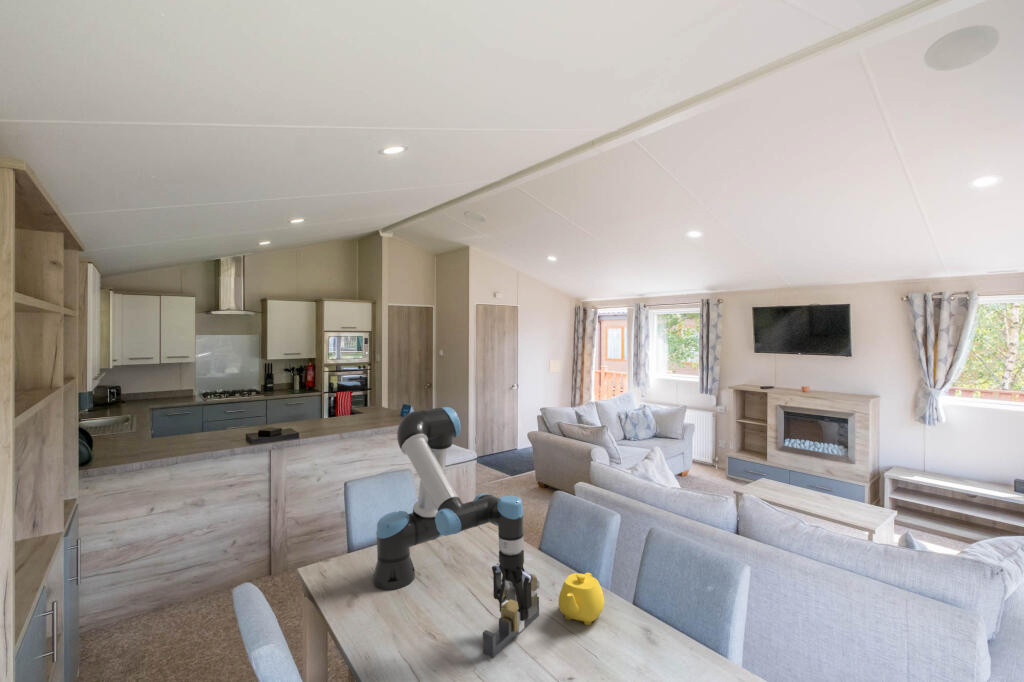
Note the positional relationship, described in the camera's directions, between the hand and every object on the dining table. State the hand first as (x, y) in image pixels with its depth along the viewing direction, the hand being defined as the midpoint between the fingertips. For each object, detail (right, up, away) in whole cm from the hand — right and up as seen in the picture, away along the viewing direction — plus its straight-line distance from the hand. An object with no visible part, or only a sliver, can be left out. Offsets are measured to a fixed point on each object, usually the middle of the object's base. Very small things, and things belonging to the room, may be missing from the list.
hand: (512, 626), depth 143 cm
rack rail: (0, -2, 0) cm, 2 cm away
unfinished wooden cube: (0, 0, 0) cm, 0 cm away
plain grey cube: (+4, +1, +6) cm, 8 cm away
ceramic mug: (+5, -2, +25) cm, 25 cm away
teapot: (+21, -2, +8) cm, 23 cm away
